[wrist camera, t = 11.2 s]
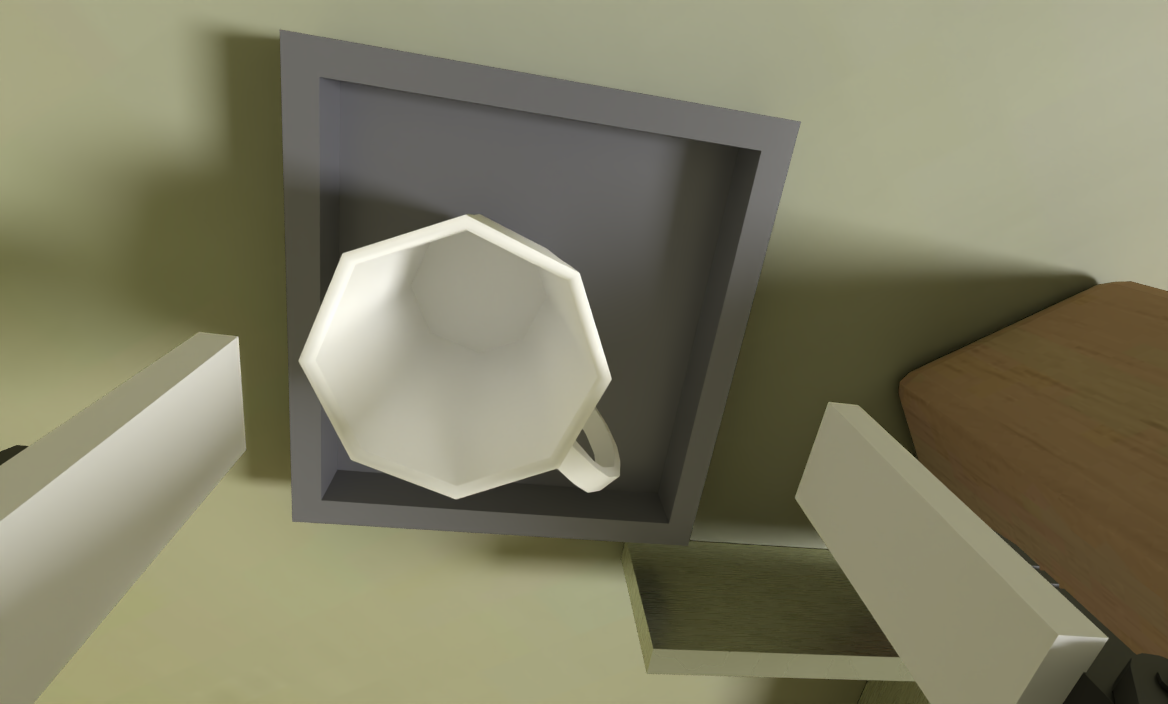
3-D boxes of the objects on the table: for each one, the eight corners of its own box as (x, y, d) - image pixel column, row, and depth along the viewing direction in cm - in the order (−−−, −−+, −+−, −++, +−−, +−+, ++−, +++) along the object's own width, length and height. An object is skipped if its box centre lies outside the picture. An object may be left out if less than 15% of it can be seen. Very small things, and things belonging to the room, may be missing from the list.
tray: (312, 41, 18) (279, 29, 16) (767, 121, 20) (800, 121, 18) (315, 480, 24) (292, 521, 21) (672, 506, 26) (688, 545, 24)
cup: (489, 131, 19) (468, 140, 12) (666, 348, 22) (739, 463, 15) (335, 269, 20) (225, 358, 13) (527, 456, 24) (530, 612, 16)
